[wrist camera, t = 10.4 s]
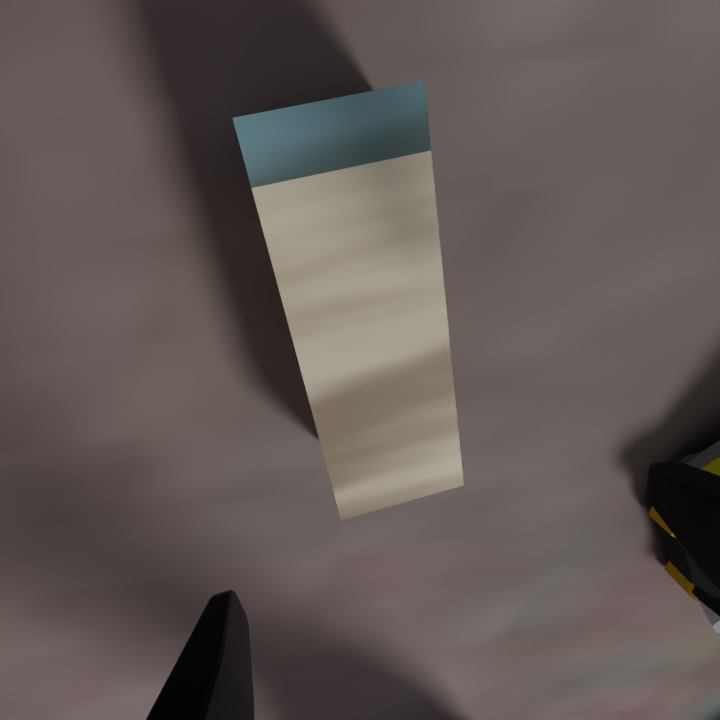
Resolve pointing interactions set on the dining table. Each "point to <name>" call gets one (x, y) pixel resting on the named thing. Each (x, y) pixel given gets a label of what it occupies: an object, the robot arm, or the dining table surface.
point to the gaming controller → (680, 563)
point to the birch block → (362, 286)
